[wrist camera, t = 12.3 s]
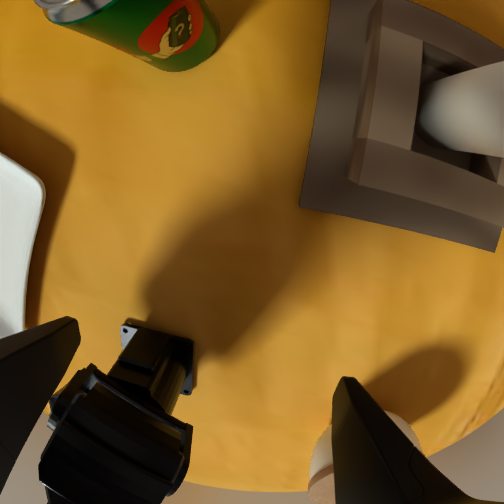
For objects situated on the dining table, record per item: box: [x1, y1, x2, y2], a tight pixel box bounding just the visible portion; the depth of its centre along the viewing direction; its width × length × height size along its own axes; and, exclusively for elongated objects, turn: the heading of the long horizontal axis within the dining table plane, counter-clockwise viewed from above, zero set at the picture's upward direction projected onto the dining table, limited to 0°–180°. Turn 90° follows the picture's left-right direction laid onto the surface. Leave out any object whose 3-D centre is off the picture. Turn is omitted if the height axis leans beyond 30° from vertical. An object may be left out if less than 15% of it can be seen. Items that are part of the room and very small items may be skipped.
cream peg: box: [414, 61, 504, 158], centre depth 11 cm, size 4×4×10 cm
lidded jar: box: [308, 410, 425, 504], centre depth 21 cm, size 11×11×9 cm
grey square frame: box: [299, 0, 504, 253], centre depth 14 cm, size 16×16×4 cm
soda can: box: [34, 0, 219, 72], centre depth 10 cm, size 5×5×12 cm
